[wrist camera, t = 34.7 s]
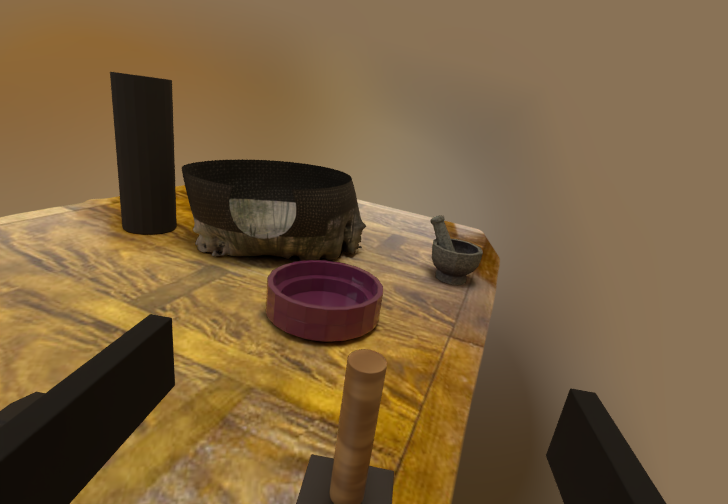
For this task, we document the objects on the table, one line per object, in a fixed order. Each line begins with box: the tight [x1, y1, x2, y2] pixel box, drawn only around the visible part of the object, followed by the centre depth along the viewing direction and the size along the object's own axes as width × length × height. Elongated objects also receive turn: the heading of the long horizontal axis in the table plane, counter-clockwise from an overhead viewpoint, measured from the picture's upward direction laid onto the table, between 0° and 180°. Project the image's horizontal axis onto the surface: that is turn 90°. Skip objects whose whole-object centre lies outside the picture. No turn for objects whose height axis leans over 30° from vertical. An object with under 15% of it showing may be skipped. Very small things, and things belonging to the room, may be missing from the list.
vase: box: [110, 72, 177, 234], centre depth 81 cm, size 10×10×30 cm
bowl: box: [266, 260, 383, 342], centre depth 59 cm, size 17×17×6 cm
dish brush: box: [296, 349, 394, 504], centre depth 27 cm, size 6×5×16 cm
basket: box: [182, 160, 366, 261], centre depth 82 cm, size 28×35×16 cm
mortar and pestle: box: [431, 216, 482, 285], centre depth 79 cm, size 11×9×12 cm
